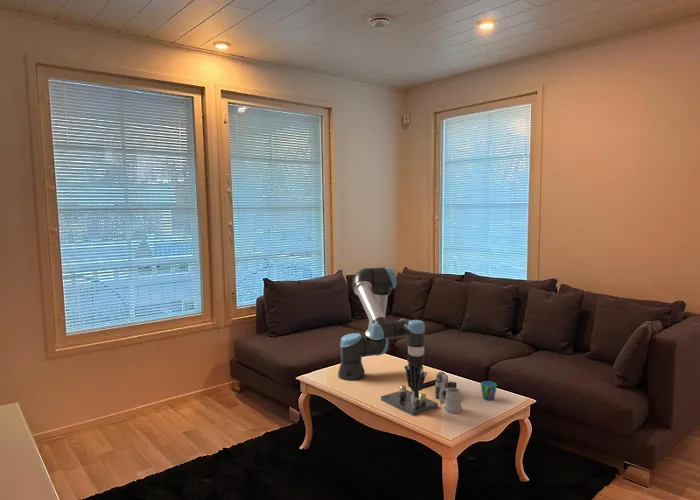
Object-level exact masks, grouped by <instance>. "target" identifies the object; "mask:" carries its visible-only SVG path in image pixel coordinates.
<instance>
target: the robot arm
mask: <svg viewBox="0 0 700 500" xmlns="http://www.w3.org/2000/svg"><path fill="white" fill-rule="evenodd" d="M396 287H397V276H396V273H395V271H394V269H393V268H392V267H390V266H389V267H388V266H387V267H386V266H381V267H365V268H362V269H360V270H359V271H357V272H356V273H355V275H354V277H353V279H352V290H353V292H354V294H355V295H356V296H358V298H359V300H360V302H361V305H362V307H363V310H364V311H365V313H366V316H367V318H368V326H367V327H368V329H366V330H365V332H364V335H361V334H360V333H358V332H357V333H356V332H353V333H348V334H345V335H343V336H342V337H341V338H340V365H339V369H338V371H337V376H338V378H339V379H341V380H345V381H356V380H362V379H364V378H365V376H366V371H365V369H364V366H363V363H362V358H363V357H372V356H381V355H385V354H386V352H387V351H388V349H389V339H390V338H391V339H392V338H402V337H405V338H407V365H405V366H404V369H405V374H406V380H407V386H408V388H410V389H411V395H412V404H415V400H417V399H418V396H419V394H420V393H419V392H420V391H422V390H423V387H424V383H425V378H426V376H427V374H428V372H427V371H424V366H423V364H424V363H425V335H426V333H425V332H426V328H425V326H426V325H425V321H423V320H419V319H413V320H410V319H407V318H400V319H399V320H394V321H387V318H386V315H387V314H386V312H387V305H388V296H389V295H391V293H392V290H393V289H395V288H396Z"/></svg>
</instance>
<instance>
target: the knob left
mask: <svg viewBox="0 0 700 500" xmlns="http://www.w3.org/2000/svg"><path fill="white" fill-rule="evenodd" d="M406 390H407V385H404V384H402V385H400V386H399V391H400V392H399V399H400V400H404V395H406Z"/></svg>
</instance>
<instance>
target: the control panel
mask: <svg viewBox="0 0 700 500" xmlns="http://www.w3.org/2000/svg"><path fill="white" fill-rule="evenodd" d="M399 392H400V390H398V391H395V392H392V393H389V394H385V395H381V396H380V401H382V402H384V403H386V404H388V405H390V406H392V407H394V408H396V409H399V410H400V411H402V412H404V413H406V414H408V415H409V416H416V415H419V414H421V413H424V412H428V411H431V410H433V409H436V408H438V407H439V404H438V402H436V401H433V400H432V399H429V398H427V397H426V404H420V408H419V409H416V408H415V404H412V395H411V391H410V390H408V389H406V395H404V400H400V399H399ZM418 398H419V396H418Z"/></svg>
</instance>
